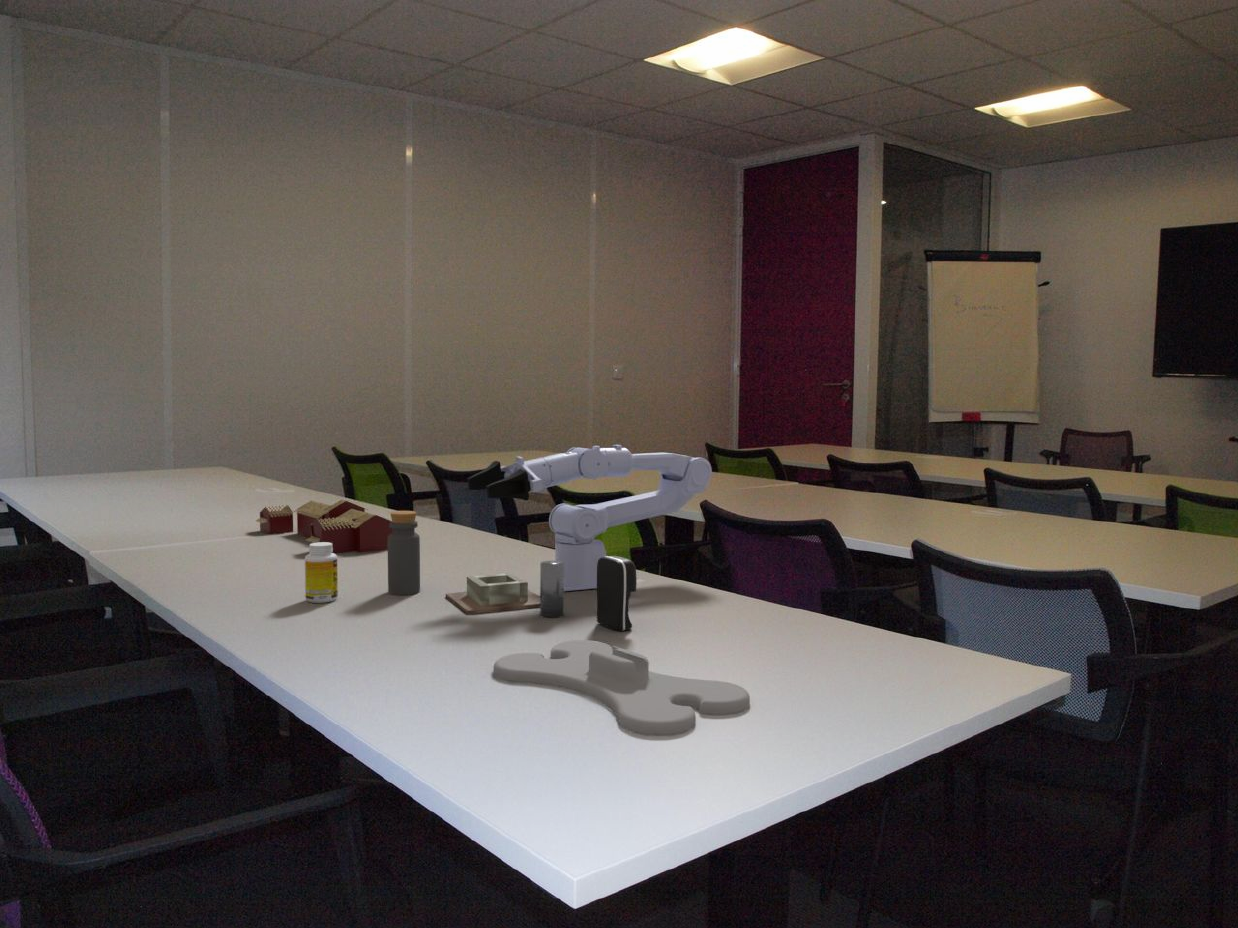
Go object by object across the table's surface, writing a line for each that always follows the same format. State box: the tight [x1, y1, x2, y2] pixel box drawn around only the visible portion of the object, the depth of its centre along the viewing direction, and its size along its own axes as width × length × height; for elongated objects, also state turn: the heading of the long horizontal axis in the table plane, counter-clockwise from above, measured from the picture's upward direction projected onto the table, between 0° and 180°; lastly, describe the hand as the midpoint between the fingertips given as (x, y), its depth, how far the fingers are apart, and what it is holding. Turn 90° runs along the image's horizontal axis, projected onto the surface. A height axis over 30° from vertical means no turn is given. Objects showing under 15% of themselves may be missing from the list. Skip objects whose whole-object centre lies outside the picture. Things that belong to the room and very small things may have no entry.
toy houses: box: [255, 499, 393, 555], centre depth 232 cm, size 45×21×10 cm, turn 41°
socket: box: [445, 572, 540, 615], centre depth 170 cm, size 15×14×4 cm
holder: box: [493, 639, 751, 737], centre depth 124 cm, size 19×34×5 cm, turn 43°
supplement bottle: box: [304, 542, 339, 604], centre depth 169 cm, size 6×6×10 cm
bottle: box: [387, 510, 421, 596], centre depth 176 cm, size 6×6×15 cm
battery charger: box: [596, 555, 638, 632], centre depth 153 cm, size 7×4×11 cm, turn 36°
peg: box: [539, 560, 565, 619], centre depth 160 cm, size 4×4×9 cm
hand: (477, 488), depth 170 cm, fingers open, 7 cm apart
